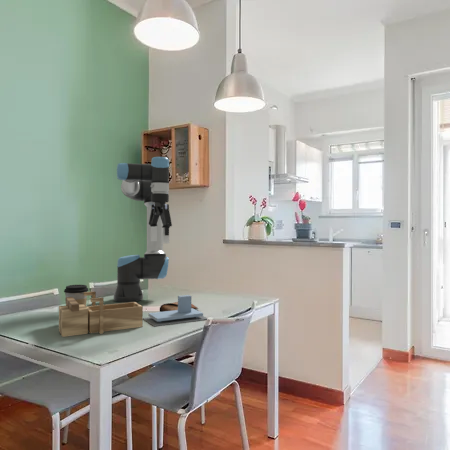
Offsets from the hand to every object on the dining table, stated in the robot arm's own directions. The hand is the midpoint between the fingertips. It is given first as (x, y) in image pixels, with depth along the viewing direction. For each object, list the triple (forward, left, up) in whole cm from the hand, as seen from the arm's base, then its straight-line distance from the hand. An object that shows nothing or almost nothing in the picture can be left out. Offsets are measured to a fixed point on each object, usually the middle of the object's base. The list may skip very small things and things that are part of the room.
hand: (159, 242), depth 171 cm
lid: (+7, +5, -31) cm, 32 cm away
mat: (+7, +5, -33) cm, 34 cm away
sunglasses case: (-5, +12, -33) cm, 35 cm away
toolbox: (+7, -26, -33) cm, 42 cm away
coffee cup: (-6, -33, -33) cm, 47 cm away
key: (+7, -37, -23) cm, 44 cm away
